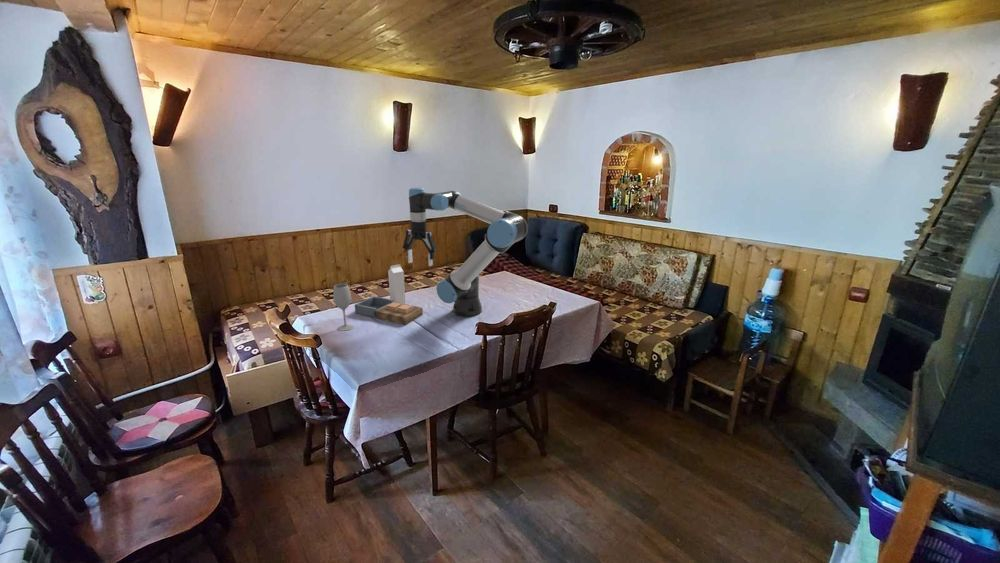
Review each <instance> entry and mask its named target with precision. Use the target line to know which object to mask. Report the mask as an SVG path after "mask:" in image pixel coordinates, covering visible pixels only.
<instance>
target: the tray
mask: <svg viewBox="0 0 1000 563" xmlns="http://www.w3.org/2000/svg"><path fill="white" fill-rule="evenodd" d="M391 303H393V300H391V299H390V298H386V297H381V296H380V297H379V296H376V295H372V296H371V297H368V298H367V299H365V300H362V301H360V302H357V303H356V304H354V309H355V310H354V311H355V315H359V316H364V317H367V318H373V319H376V311H377V310H379V309H381V308H383V307H385V306H387V305H389V304H391Z"/></svg>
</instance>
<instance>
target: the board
mask: <svg viewBox="0 0 1000 563" xmlns="http://www.w3.org/2000/svg"><path fill="white" fill-rule="evenodd" d="M395 303H397V302H395ZM400 304H401V305H404V304H402V303H400ZM405 305H408V304H406V303H405ZM409 305H410V304H409ZM410 306H412V310H411V311H409V312H407V313H403V312H398V310H396V311H394V310H389V309H387V306H385V307H383V308H381V309H379V310H377V311H376V318H375V319H377V320H381V321H386V322H390V323H394V324H398V325H403V326H407V325H408V324H409V325H410V323H412V322H414V321H415V320H417V319H418V318H420V317H422V316H423V315H424V312H423V307H420V306H416V305H412V304H411V305H410Z"/></svg>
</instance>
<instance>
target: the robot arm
mask: <svg viewBox="0 0 1000 563" xmlns="http://www.w3.org/2000/svg"><path fill="white" fill-rule="evenodd" d="M408 201H409V219H410V223H409V224H410V229H407V230H405V238H404V241H403V244H402V249H404V250H406V251H405V252H406V257H407V263H408V264H411V263H413V261H414V260H413V259H414V257H413V249H412V247H413V245H414V243H415V241H417V240H418V241H421V242H422V243H423V244H424V246H425V248H426V250H427V251H428V253H427V260H428V261H427V262H428V267H431V266H434V262H433V261H434V258H435V256H434V254H435V253H436V252H438V248H437V246H436V242H435V240H434V238H433V232H432V231H430V232H429V231H427V221H426V220H427V210H431V211H437V212H439V211H442V212H443V211H445V210H447V209H448V208H449V209H453V210H455V211H458V212H460V213H463V214H465V215H467V216H470V217H473V218H475V219H477V220H480V221H482V222H485V223H487V224H489V226H488V228H487V231H486V233H485V234H484V241H482V242H481V244H480V245H479V246H478V247H477V248H476V249H475V251H473V252H472V254H471V255H470V256H469V257H468V258H467V259H466V260H465V261H464V262H463V263H462V264H461V266H460V267H458V268H456V269H454V270H452V271H451V272H450V273H448V275H447V276H446V278H444V279H441V280H440V281H439V282H438V283H437V284H436V290H435V291H436V295H437V296H438V298H439V299H440V300H441V301H442V302H443V303H446V304H452V303H453V307H452V308H453V309H452V311H453V313H454V314H455V315H457V316H460V317H461V316H462V317H474V316H477V315H480V314H481V313H482V311H483V306H482V303H481V300H480V298H479V291H480V290H479V286H480V285H479V284H480V274H481V272H483V270H485V268H486V267H488V266H489V264H491V262H492V261H493V260H494V259H495V258H496V257H497V256H498V255H499V254H504V253H506V252H507V250H509V249H510V248H511V247H512V246H513V245H514V244H515V243H517V242H520V241H521V240H523V239H524V238H525V237H526V236H527V234H528V232H529V231H528V230H529V225H528V223H527V221H526V219H525V218H524V217H523V216H522V215H519V214H517V213H514V212H511V211H508V210H506V211H503V210H500V209H497V208H494V207H491V206H490V205H487V204H484V203H482V202H479V201H476V200H474V199H472V198H469V197H466V196H463V195H461V193H460V192H459V191H456V190H448V191H444V192H435V193H432V192H431V193H429V192H426V190H425V188H424V187H411V188H409V190H408ZM411 235H412V236H411Z"/></svg>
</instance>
